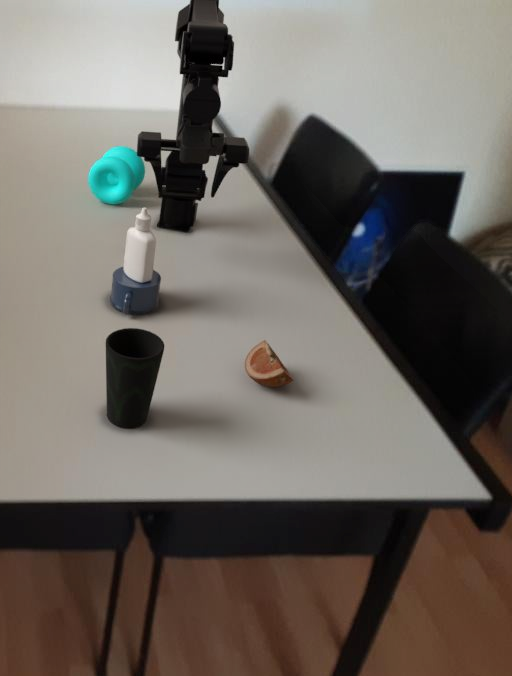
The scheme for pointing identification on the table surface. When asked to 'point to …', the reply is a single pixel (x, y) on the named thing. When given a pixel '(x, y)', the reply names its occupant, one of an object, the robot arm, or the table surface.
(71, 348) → the table surface
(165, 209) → the robot arm
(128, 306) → the blue mug
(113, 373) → the cup
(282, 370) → the fruit slice
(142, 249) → the eye dropper bottle
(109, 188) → the donuts
